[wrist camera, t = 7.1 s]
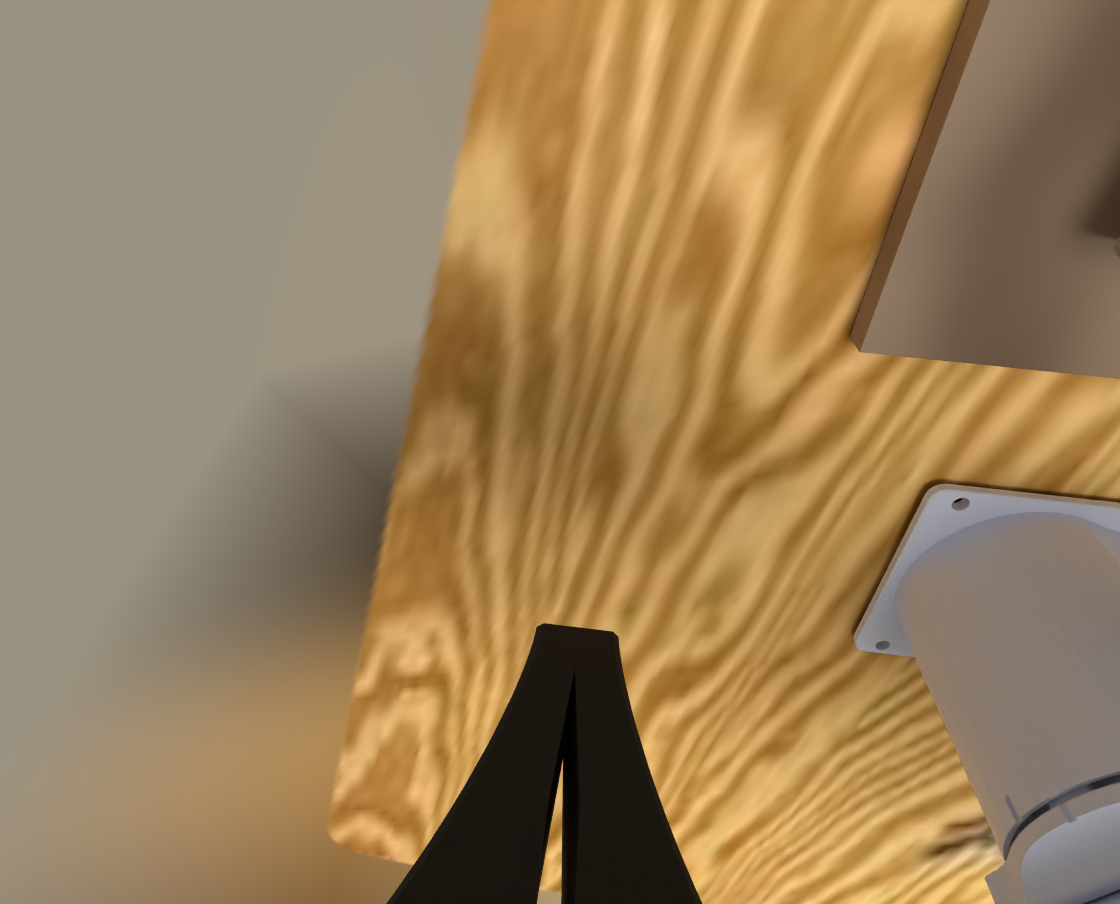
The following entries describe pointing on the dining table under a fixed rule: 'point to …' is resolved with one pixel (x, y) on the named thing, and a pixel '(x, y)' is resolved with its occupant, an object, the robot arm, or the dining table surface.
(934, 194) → the board
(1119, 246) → the roller
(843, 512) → the dining table surface
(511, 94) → the dining table surface
